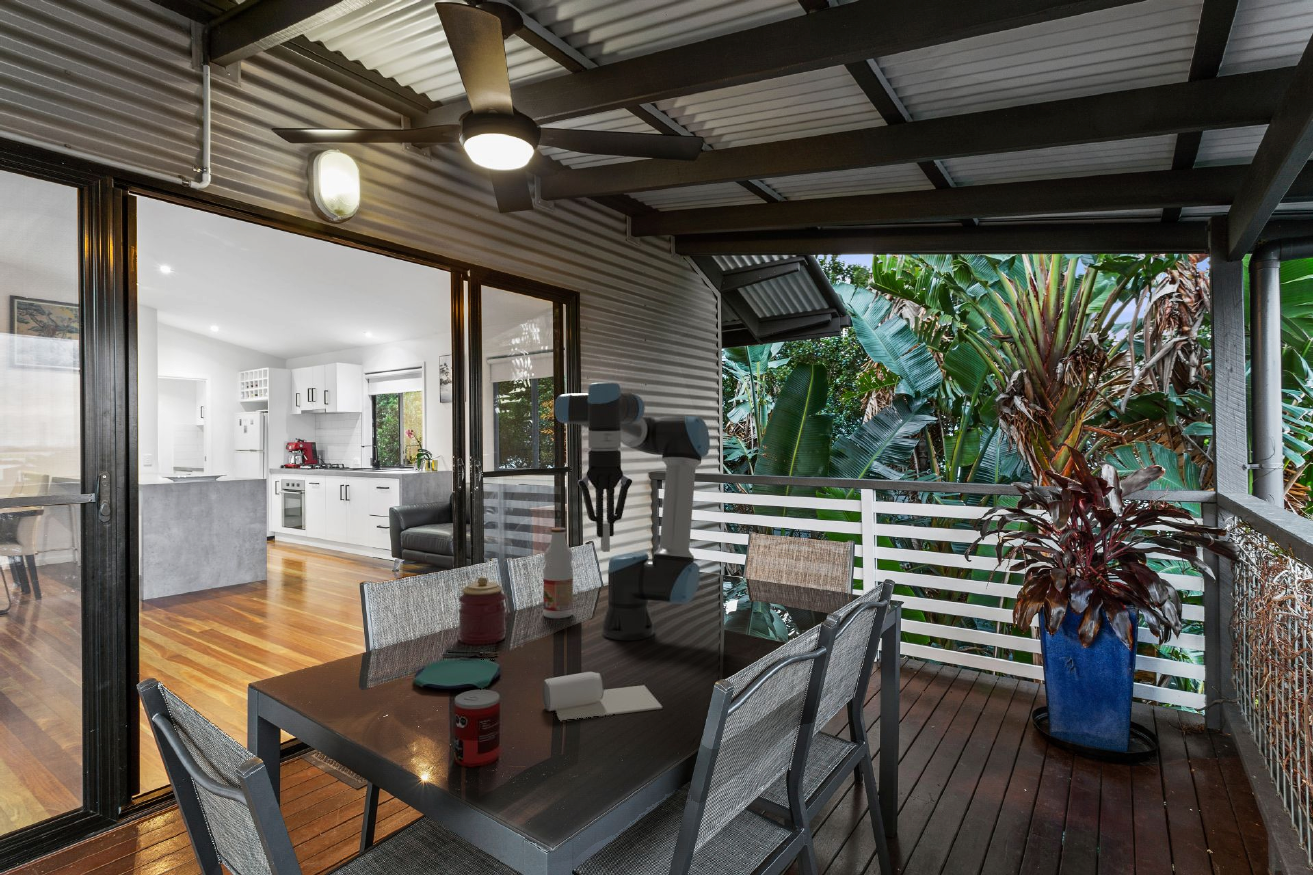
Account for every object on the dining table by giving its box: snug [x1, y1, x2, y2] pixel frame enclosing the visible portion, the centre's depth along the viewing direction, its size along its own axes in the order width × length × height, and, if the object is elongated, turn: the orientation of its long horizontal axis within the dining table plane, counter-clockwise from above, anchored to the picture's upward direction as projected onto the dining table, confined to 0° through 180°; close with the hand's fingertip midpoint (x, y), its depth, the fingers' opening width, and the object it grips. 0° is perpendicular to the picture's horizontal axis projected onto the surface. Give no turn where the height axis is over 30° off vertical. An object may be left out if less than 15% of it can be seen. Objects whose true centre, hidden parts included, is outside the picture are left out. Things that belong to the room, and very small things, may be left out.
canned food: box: [453, 689, 501, 768], centre depth 123 cm, size 8×8×11 cm
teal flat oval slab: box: [414, 648, 502, 690], centre depth 168 cm, size 20×30×2 cm, turn 2°
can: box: [541, 671, 605, 712], centre depth 147 cm, size 6×6×12 cm
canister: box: [458, 576, 507, 646], centre depth 194 cm, size 13×13×18 cm
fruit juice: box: [542, 526, 574, 619], centre depth 220 cm, size 9×9×28 cm
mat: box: [554, 684, 663, 722], centre depth 149 cm, size 13×22×1 cm, turn 108°
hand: (605, 550), depth 159 cm, fingers closed
